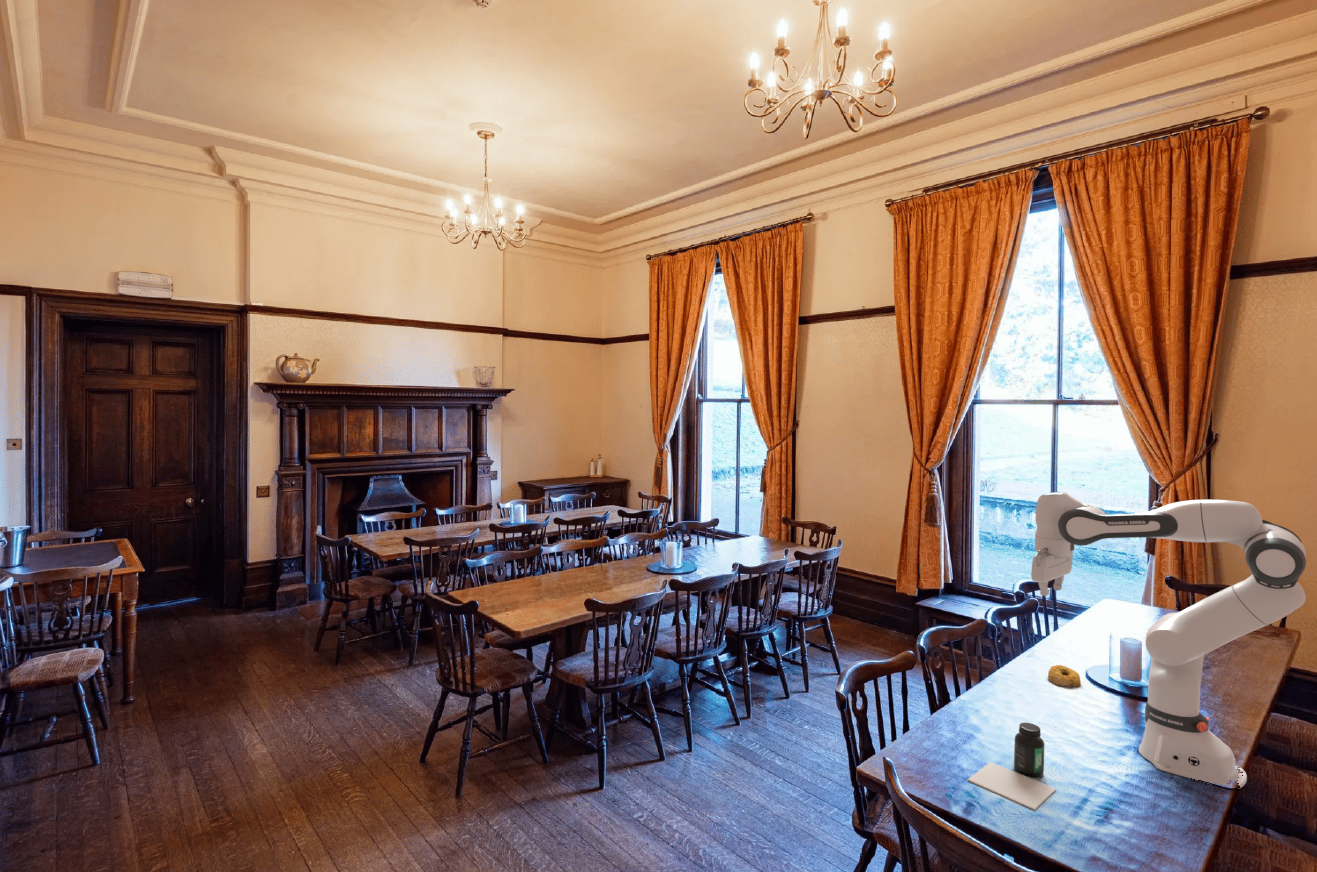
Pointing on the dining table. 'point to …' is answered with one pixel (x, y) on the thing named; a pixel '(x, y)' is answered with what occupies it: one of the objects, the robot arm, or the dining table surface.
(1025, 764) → the supplement bottle
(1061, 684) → the bagel
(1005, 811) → the dining table surface
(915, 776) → the dining table surface
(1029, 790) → the mat
